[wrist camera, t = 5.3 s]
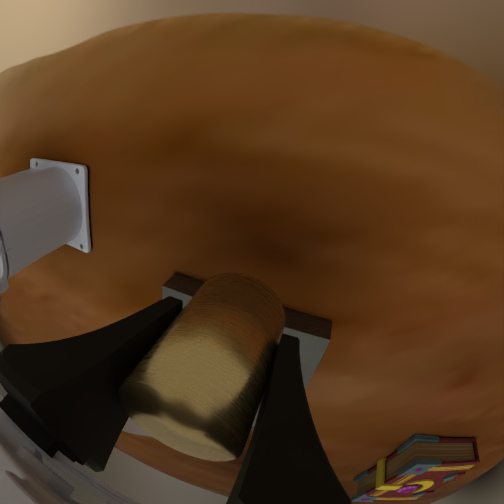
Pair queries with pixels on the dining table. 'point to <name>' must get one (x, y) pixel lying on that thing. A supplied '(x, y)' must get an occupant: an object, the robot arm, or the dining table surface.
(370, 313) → the dining table surface
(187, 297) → the grey plate with cutouts
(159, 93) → the dining table surface
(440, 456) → the decorative book
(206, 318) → the brass fitting
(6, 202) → the robot arm
